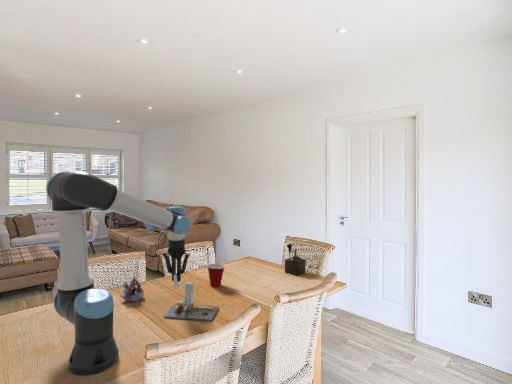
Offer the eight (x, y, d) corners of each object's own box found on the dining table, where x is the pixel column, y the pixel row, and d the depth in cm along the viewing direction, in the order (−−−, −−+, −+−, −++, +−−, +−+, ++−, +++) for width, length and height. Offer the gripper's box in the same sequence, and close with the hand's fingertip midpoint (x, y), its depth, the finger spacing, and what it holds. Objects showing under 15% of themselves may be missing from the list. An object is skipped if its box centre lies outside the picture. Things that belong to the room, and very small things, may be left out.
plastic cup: (228, 284, 185) (229, 264, 184) (215, 289, 176) (216, 269, 176) (215, 280, 192) (216, 261, 191) (202, 285, 183) (202, 265, 182)
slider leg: (187, 314, 143) (188, 287, 142) (181, 313, 143) (181, 287, 142) (193, 306, 151) (193, 281, 151) (187, 305, 152) (187, 281, 151)
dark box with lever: (306, 272, 212) (307, 246, 211) (296, 276, 204) (297, 249, 204) (288, 267, 223) (289, 242, 222) (278, 270, 215) (279, 245, 214)
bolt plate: (211, 321, 138) (211, 319, 138) (163, 317, 141) (163, 315, 141) (218, 308, 152) (218, 306, 152) (175, 305, 155) (175, 303, 155)
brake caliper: (138, 300, 153) (125, 279, 155) (122, 311, 156) (110, 290, 157) (151, 292, 164) (139, 272, 166) (137, 302, 167) (125, 283, 168)
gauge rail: (208, 316, 141) (209, 309, 141) (170, 313, 143) (170, 306, 143) (213, 308, 150) (213, 302, 150) (177, 305, 152) (177, 299, 152)
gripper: (192, 237, 151) (191, 285, 153) (166, 236, 153) (166, 284, 154) (187, 241, 144) (186, 291, 145) (160, 239, 145) (159, 289, 146)
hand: (176, 287), depth 150 cm, fingers closed
